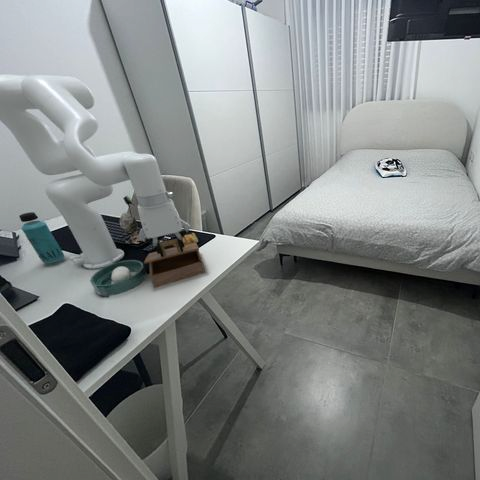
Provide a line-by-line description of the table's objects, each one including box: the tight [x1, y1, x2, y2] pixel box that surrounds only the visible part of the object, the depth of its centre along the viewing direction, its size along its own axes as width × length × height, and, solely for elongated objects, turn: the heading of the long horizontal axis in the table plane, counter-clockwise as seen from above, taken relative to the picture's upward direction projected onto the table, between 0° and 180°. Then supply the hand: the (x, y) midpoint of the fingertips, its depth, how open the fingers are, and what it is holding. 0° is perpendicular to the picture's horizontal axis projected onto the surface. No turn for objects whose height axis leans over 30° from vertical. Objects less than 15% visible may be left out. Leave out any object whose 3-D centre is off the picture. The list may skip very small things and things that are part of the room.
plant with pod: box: [119, 195, 146, 245], centre depth 108 cm, size 8×11×20 cm
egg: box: [111, 267, 131, 284], centre depth 85 cm, size 7×5×5 cm
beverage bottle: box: [18, 211, 65, 264], centre depth 93 cm, size 6×7×20 cm
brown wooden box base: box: [149, 249, 207, 289], centre depth 91 cm, size 15×16×5 cm
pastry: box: [172, 232, 199, 248], centre depth 108 cm, size 9×7×4 cm
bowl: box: [89, 259, 148, 297], centre depth 85 cm, size 14×14×4 cm
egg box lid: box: [143, 238, 200, 265], centre depth 87 cm, size 15×16×5 cm
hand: (172, 251), depth 84 cm, fingers closed on egg box lid, 5 cm apart
